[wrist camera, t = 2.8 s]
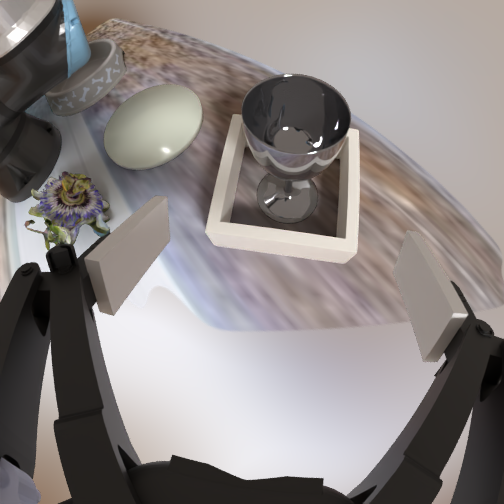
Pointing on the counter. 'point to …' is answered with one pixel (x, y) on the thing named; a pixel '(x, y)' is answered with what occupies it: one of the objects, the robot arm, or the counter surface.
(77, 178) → the passion flower
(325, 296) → the counter surface
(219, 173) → the holder
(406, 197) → the counter surface
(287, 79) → the wine glass
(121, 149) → the plate
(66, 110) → the dog bowl
